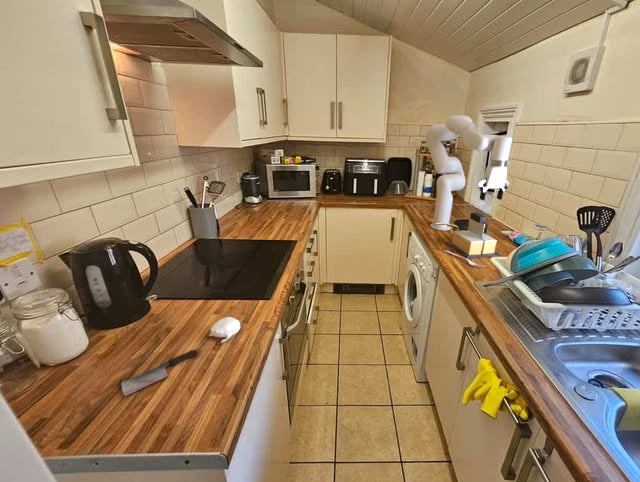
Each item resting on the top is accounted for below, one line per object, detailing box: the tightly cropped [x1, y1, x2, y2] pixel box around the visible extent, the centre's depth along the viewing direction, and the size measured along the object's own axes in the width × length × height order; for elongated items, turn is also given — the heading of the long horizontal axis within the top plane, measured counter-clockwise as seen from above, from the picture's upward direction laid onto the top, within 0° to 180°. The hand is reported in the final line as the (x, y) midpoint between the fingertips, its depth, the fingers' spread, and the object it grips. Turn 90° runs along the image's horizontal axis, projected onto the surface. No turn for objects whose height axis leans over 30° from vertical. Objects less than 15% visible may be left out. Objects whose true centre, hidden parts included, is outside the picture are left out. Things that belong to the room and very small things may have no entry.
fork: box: [443, 249, 487, 268], centre depth 139 cm, size 3×24×2 cm, turn 29°
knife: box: [467, 212, 487, 238], centre depth 147 cm, size 12×3×10 cm, turn 14°
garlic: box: [208, 316, 241, 344], centre depth 86 cm, size 8×7×4 cm
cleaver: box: [120, 348, 198, 397], centre depth 72 cm, size 16×1×5 cm
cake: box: [445, 229, 501, 259], centre depth 151 cm, size 20×18×7 cm
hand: (490, 199), depth 149 cm, fingers open, 9 cm apart
